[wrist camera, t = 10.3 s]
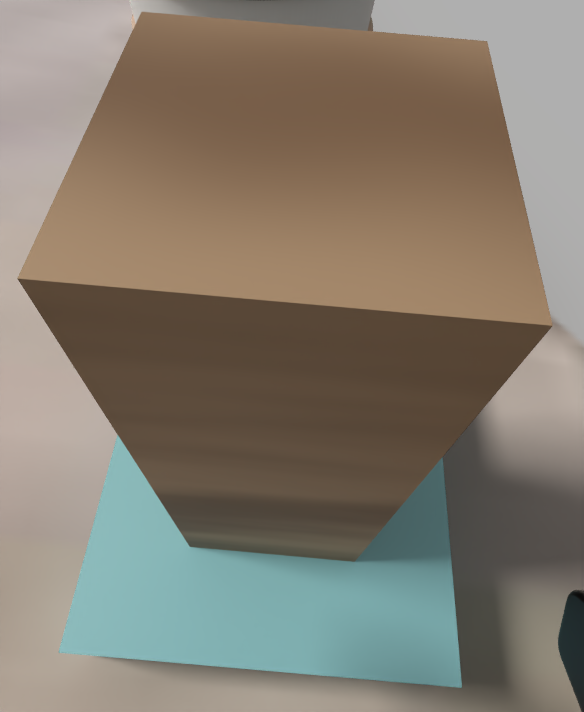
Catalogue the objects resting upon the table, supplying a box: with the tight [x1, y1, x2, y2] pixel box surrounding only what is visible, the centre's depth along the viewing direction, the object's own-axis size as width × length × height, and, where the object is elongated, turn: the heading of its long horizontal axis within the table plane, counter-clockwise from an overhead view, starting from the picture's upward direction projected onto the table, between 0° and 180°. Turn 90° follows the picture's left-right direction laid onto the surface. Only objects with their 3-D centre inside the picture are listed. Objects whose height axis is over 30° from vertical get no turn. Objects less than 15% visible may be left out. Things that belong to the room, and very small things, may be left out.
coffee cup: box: [129, 0, 374, 31], centre depth 20 cm, size 9×9×15 cm
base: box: [59, 435, 462, 688], centre depth 18 cm, size 11×11×3 cm
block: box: [17, 12, 553, 562], centre depth 11 cm, size 5×5×12 cm
